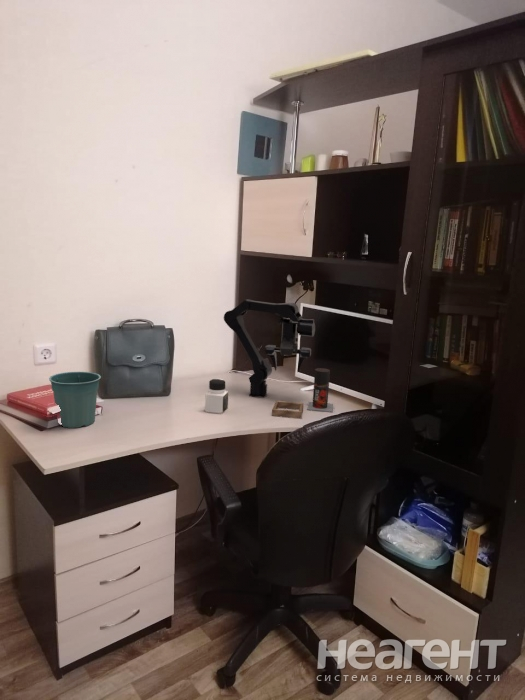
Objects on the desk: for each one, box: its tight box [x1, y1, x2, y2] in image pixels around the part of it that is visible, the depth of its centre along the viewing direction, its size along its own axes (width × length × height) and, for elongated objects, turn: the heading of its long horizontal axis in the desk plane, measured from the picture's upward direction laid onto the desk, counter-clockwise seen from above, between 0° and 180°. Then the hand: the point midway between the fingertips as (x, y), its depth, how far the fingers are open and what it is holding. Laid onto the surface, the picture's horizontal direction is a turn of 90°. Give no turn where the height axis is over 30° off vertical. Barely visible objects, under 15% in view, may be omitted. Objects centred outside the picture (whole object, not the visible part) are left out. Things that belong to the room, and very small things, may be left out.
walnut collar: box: [271, 400, 304, 419], centre depth 191 cm, size 11×11×2 cm
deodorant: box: [312, 367, 331, 409], centre depth 198 cm, size 6×6×15 cm
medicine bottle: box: [204, 378, 229, 415], centre depth 189 cm, size 7×7×12 cm
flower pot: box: [48, 371, 102, 429], centre depth 170 cm, size 16×16×16 cm
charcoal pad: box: [306, 401, 334, 413], centre depth 199 cm, size 10×10×1 cm
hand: (286, 371), depth 206 cm, fingers open, 9 cm apart
